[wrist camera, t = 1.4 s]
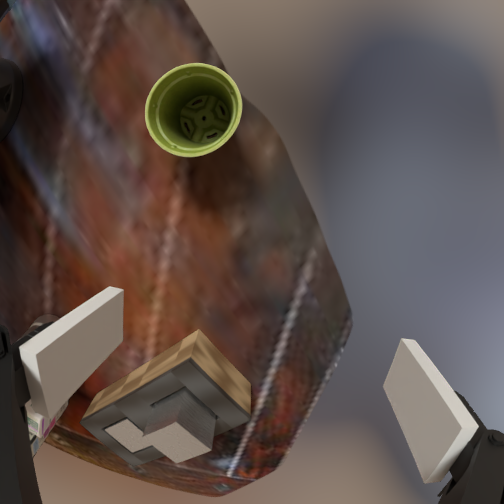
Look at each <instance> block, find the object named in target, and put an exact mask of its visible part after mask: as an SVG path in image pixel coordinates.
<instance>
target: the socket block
mask: <svg viewBox="0 0 504 504" xmlns="http://www.w3.org/2000/svg"><path fill="white" fill-rule="evenodd" d="M185 386H186V387H187V388H188V389H189V390H190V391H191V392H192V393H193V394H194V395H195V396H196V397H198V398H199V399H200V400H201V401H202V402H203V403H204V404H205V405H206V406H207V407H209V408H210V409H211V410H212V411H213V412H214V413H215V414H216V421H215V429H214V436H217V435H219V434H221V433H224V432H226V431H228V430H230V429H233V428H235V427H237V426H239V425H241V424H243V423H245V422H248V421H250V419H251V383H250V382H249V381H248V380H247V379H246V378H245V377H244V376H243V375H242V374H241V373H240V372H239V371H238V370H237V369H236V368H235V367H234V366H233V365H232V364H231V363H230V362H229V361H228V360H227V359H226V358H225V357H224V356H223V354H222V353H221V352H220V351H219V350H218V349H217V348H216V347H215V346H214V345H213V344H212V343H211V342H210V340H209V339H208V338H207V337H206V336H205V335H204V334H203V333H202V332H201V331H200V329H198V330H197V331H195V332H194V333H192V334H191V335H189V336H188V337H186V338H184V339H183V340H181V341H180V342H178V343H177V344H175V345H174V346H172V347H170V348H169V349H167V350H166V351H164V352H163V353H161V354H160V355H158V356H156V357H155V358H153V359H152V360H150V361H149V362H147V363H145V364H144V365H142V366H141V367H139V368H137V369H136V370H134V371H133V372H131V373H129V374H128V375H126V376H125V377H123V378H121V379H120V380H118V381H116V382H115V383H113V384H112V385H110V386H108V387H107V388H105V389H103V390H102V391H100V392H99V393H97V394H96V396H95V397H94V399H93V401H92V402H91V404H90V406H89V407H88V409H87V411H86V413H85V414H84V416H83V418H82V419H81V421H80V424H81V425H82V426H83V427H85V428H86V429H87V430H88V431H89V432H90V433H91V434H93V435H94V436H95V437H96V438H97V439H98V440H100V441H101V442H102V443H103V444H105V445H106V446H107V447H108V448H109V449H111V450H112V451H113V452H114V453H116V454H117V455H118V456H120V457H121V458H122V459H124V460H125V461H126V462H128V463H129V464H130V465H132V466H133V467H134V466H137V465H140V464H144V463H147V462H149V461H152V460H155V459H158V458H161V457H164V456H166V455H164V454H163V453H162V452H160V451H159V450H158V449H156V448H155V447H154V446H153V445H151V446H148V447H146V448H143V449H141V450H138V451H135V452H133V453H132V452H131V451H130V450H128V449H127V448H126V447H125V446H123V445H122V444H121V443H120V442H118V441H117V440H116V439H115V438H113V437H112V436H111V435H110V434H109V433H108V432H106V431H105V428H106V426H108V425H110V424H113V423H115V422H117V421H119V420H121V419H123V418H125V417H128V418H129V419H130V420H131V421H133V422H134V423H135V424H136V425H137V426H138V427H140V428H141V429H142V430H143V431H144V430H145V427H146V425H147V422H148V419H149V416H150V414H151V411H152V408H153V406H154V403H155V402H157V401H158V400H160V399H162V398H164V397H166V396H168V395H170V394H172V393H174V392H175V391H177V390H179V389H181V388H183V387H185ZM214 436H213V437H214Z"/></svg>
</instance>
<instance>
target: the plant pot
mask: <svg viewBox="0 0 504 504" xmlns="http://www.w3.org/2000/svg"><path fill="white" fill-rule="evenodd" d="M197 100H202V102H199V103H197V104H195V105H192V104H193V103H194V102H195V101H197ZM219 106H222V107H223V109H224V111H225V115H223V114H222V111H221V109H220V107H219ZM241 114H242V99H241V95H240V92H239V89H238V87H237V86H236V84H235V82H234V81H233V80H232V78H231V77H230V76H229V75H228V74H226V73H225V72H224V71H222V70H220V69H219V68H217V67H214V66H211V65H208V64H202V63H192V64H186V65H182V66H179V67H176V68H174V69H172V70H171V71H169V72H167V73H166V74H165V75H163V76H162V77H161V78H160V79H159V80H158V81H157V83H156V84H155V85H154V86H153V88H152V90H151V91H150V93H149V96H148V98H147V102H146V107H145V121H146V125H147V128H148V130H149V133H150V135H151V136H152V138H153V139H154V141H155V142H156V143H157V144H158V145H159V146H160V147H161V148H163V149H164V150H166V151H168V152H169V153H172V154H174V155H177V156H182V157H198V156H202V155H205V154H208V153H211V152H213V151H215V150H216V149H218V148H219V147H221V146H222V145H223V144H224V143H226V142H227V141H228V140H229V139H230V137H231V136H232V135H233V134H234V132H235V130H236V129H237V127H238V124H239V122H240V119H241ZM203 116H205V117H206V120H203V119H202V117H203ZM185 122H187V125H188V128H189V130H190V132H188V131H187V129H186V128H185V125H184V123H185ZM216 132H217V135H216V136H215V137H212V138H209V139H208V138H207V136H210V135H213V134H214V133H216Z"/></svg>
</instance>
